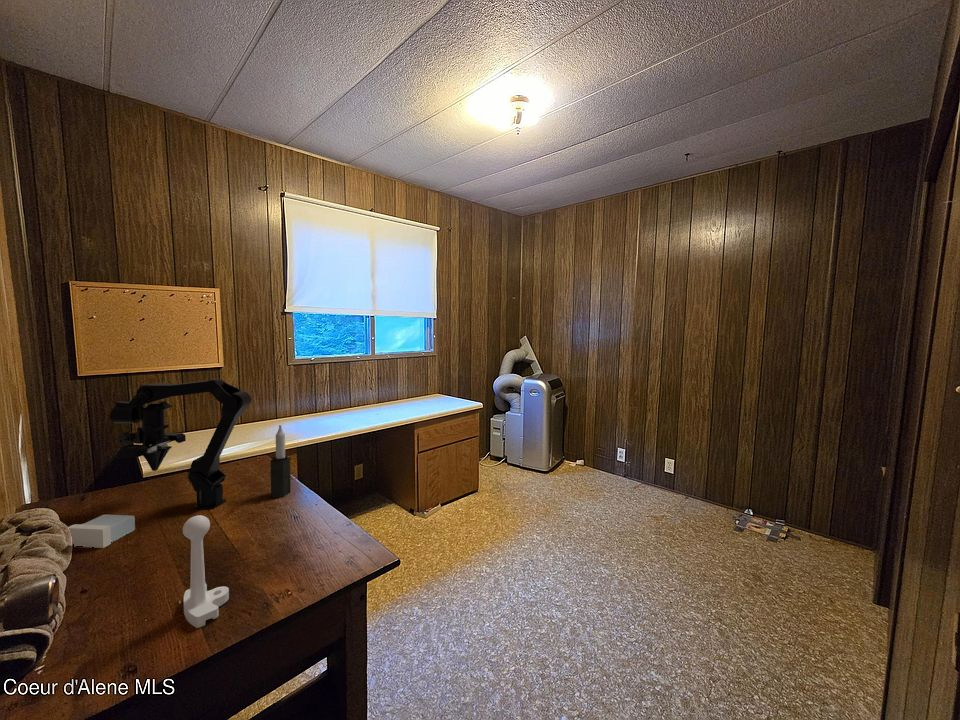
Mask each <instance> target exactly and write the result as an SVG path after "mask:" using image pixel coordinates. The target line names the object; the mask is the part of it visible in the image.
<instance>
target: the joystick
mask: <svg viewBox="0 0 960 720" xmlns="http://www.w3.org/2000/svg"><path fill="white" fill-rule="evenodd" d="M210 527H211V521H210V520H209V518H208V517H207V516H205V515H195V516H192V517H190V518H188V519H187V520H186V521H185V522H184V524H183V526H182V534H183V535H184V537H186V538H187V539H188V540H190V588H188V589H186V590H185V592H184V594H183V614H184V617H185V620H186V621H187V622H188V623H189V624H190V625H191V626H193V627H194V628H196V629H198V628H199V629H200V628H201V627H204V626H206V621H207V620H210V619H213V620H215V619H217V618H218V617H219V615H220V613H219V612H220V611H219V607H221V606H223V605H225V603H227V602H228V600H229V599H230V588H229V587H228V586H217V587H215V588H212V589H210V590H208V588H207V586H208V585H207V583H206V575H205V574H206V572H205V559H204V558H205V556H204V555H205V553H204V537H205V535H207V533H208V532H209V530H210V529H211V528H210Z"/></svg>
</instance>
